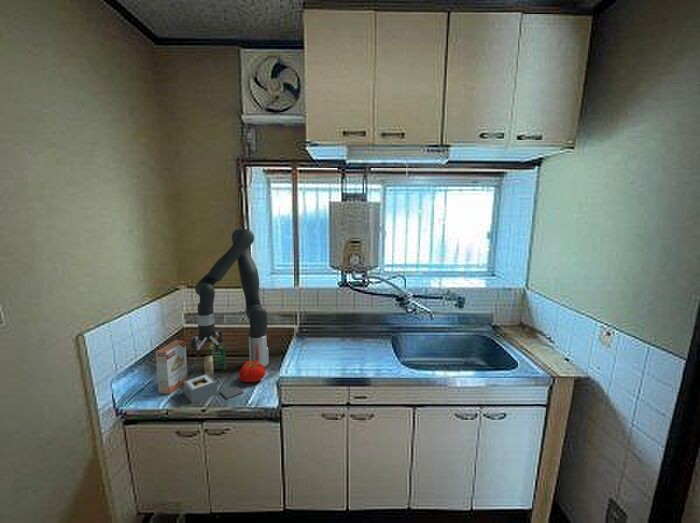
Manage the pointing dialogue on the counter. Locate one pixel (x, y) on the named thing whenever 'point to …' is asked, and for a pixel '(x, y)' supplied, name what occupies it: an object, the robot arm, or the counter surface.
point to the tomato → (252, 372)
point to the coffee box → (218, 357)
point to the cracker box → (171, 366)
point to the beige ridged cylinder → (209, 366)
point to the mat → (231, 392)
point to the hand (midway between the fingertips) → (207, 353)
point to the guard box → (200, 388)
